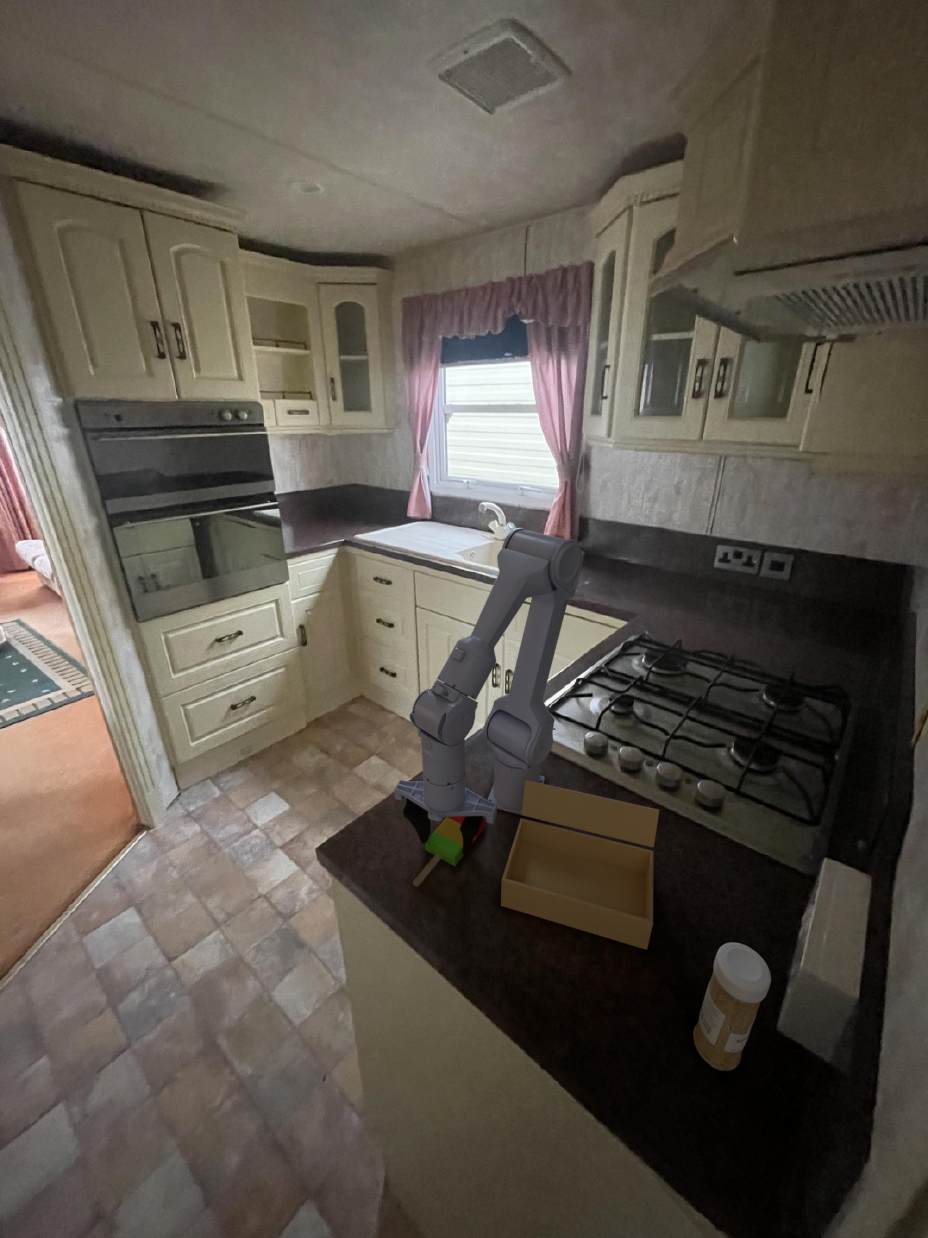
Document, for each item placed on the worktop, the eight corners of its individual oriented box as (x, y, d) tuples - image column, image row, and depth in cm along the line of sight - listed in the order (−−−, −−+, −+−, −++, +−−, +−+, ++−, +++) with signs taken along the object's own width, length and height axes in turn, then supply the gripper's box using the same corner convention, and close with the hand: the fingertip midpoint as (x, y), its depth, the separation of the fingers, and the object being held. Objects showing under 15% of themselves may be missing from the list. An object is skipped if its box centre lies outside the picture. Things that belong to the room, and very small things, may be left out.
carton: (519, 842, 77) (520, 818, 75) (648, 876, 71) (653, 850, 69) (500, 905, 67) (501, 880, 65) (647, 950, 62) (653, 923, 60)
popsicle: (488, 825, 80) (488, 816, 79) (431, 899, 68) (431, 890, 68) (458, 810, 83) (458, 801, 82) (399, 880, 71) (398, 870, 70)
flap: (521, 815, 74) (521, 814, 75) (653, 847, 69) (653, 846, 69) (525, 780, 74) (525, 779, 74) (659, 810, 68) (659, 809, 69)
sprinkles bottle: (742, 1081, 50) (775, 999, 45) (692, 1061, 52) (718, 979, 46) (738, 1031, 54) (768, 950, 49) (691, 1013, 56) (715, 933, 50)
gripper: (381, 778, 68) (389, 852, 74) (487, 804, 64) (486, 880, 69) (404, 746, 74) (409, 816, 80) (501, 767, 70) (499, 840, 75)
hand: (446, 844), depth 75 cm, fingers closed on popsicle, 6 cm apart
